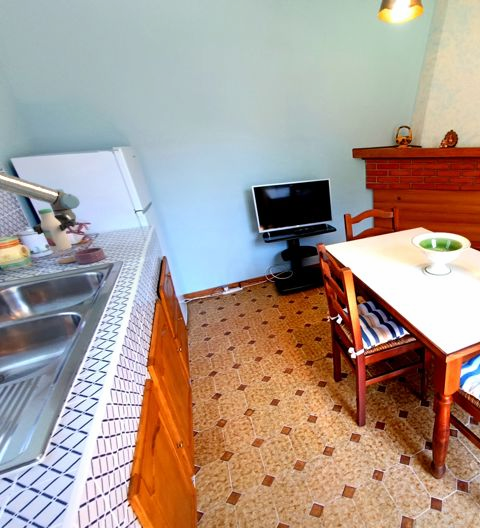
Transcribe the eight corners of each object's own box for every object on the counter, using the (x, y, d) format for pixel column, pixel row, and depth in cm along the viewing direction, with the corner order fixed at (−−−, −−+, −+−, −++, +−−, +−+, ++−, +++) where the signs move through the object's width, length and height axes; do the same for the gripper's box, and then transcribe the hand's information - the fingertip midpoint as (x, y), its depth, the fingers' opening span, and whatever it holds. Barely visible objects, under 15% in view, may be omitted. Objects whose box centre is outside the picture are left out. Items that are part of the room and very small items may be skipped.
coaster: (62, 265, 148) (61, 264, 148) (55, 261, 154) (55, 260, 154) (89, 258, 156) (88, 257, 156) (82, 255, 162) (81, 254, 162)
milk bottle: (72, 245, 154) (55, 207, 146) (72, 248, 148) (54, 209, 141) (51, 249, 149) (33, 210, 142) (51, 253, 144) (32, 212, 136)
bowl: (81, 266, 145) (77, 256, 143) (73, 262, 152) (69, 253, 150) (109, 258, 154) (105, 249, 152) (101, 255, 160) (97, 246, 158)
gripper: (88, 224, 165) (80, 233, 147) (38, 231, 155) (23, 242, 137) (83, 211, 162) (74, 218, 144) (32, 217, 153) (16, 226, 135)
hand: (49, 229), depth 141 cm, fingers closed on milk bottle, 8 cm apart
